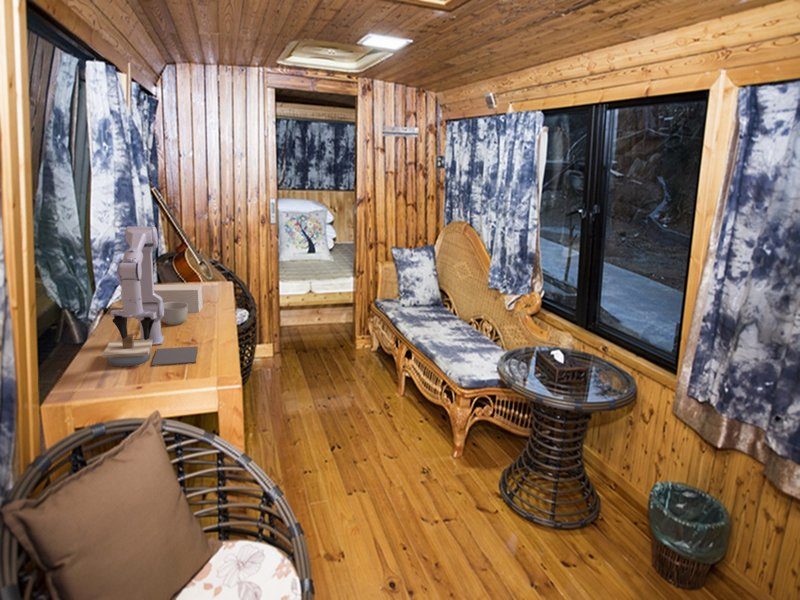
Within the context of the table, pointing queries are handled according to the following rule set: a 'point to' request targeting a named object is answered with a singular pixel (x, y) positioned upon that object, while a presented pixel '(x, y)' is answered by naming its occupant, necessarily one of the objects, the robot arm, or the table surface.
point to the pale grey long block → (181, 295)
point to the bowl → (128, 360)
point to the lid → (128, 347)
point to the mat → (175, 356)
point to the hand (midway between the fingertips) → (135, 338)
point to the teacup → (175, 313)
